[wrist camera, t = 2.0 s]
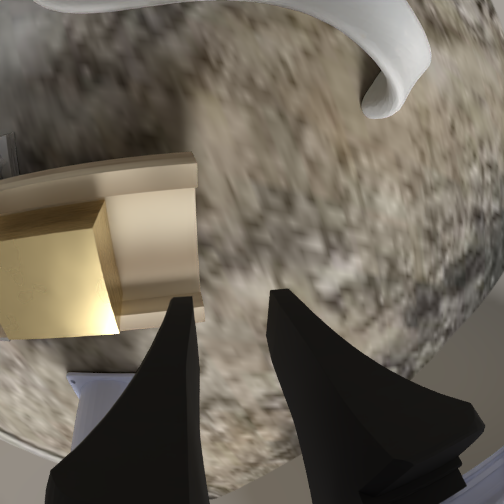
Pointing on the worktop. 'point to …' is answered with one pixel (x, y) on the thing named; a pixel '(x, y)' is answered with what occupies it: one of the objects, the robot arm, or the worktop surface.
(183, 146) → the worktop surface
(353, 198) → the worktop surface
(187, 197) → the beam
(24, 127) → the worktop surface
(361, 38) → the spoon rest
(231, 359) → the worktop surface
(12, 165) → the stand
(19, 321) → the block
